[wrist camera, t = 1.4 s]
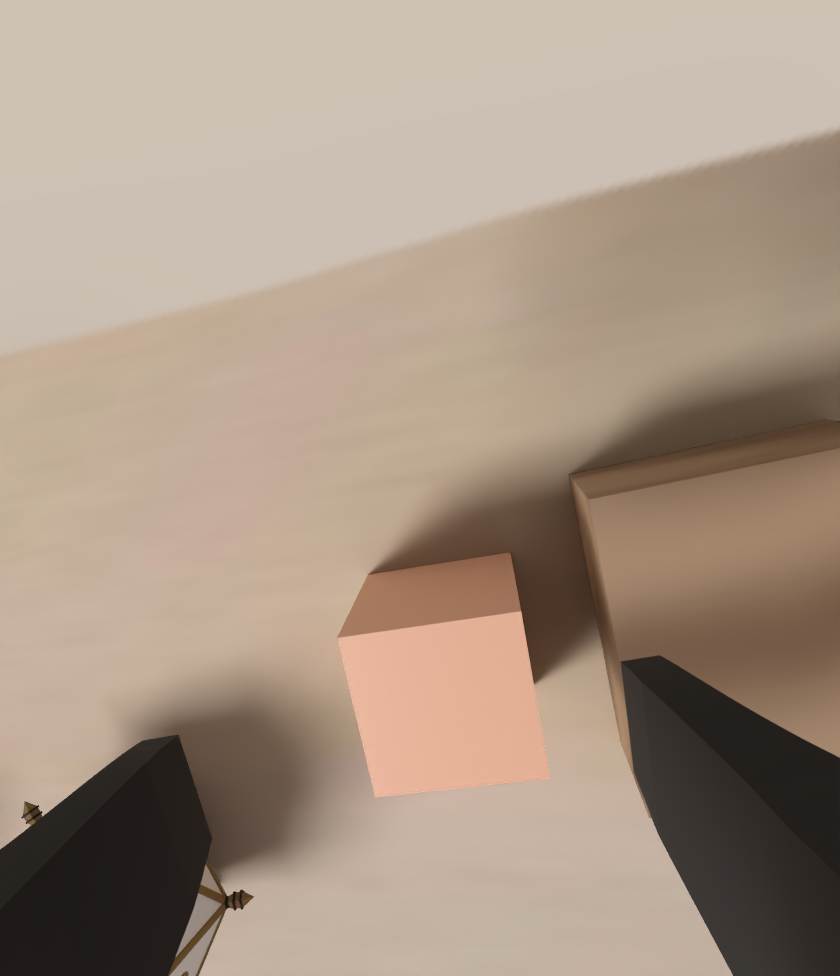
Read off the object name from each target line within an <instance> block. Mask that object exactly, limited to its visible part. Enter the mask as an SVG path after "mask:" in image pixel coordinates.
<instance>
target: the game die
mask: <svg viewBox="0 0 840 976" xmlns="http://www.w3.org/2000/svg"><path fill="white" fill-rule="evenodd" d="M38 807H39V805H38V806H35V805H33V804H30V803H28V802H25V803H24V812H23V816H22V817H21V818H25V820H26V821H27V822H26V824H27V823H29V824H30V825H33V824H34V823H35V822H37V821H38V820H39V819H40V818H42V815H41V813H43V812H42V811H41V812H40V810H39V809H38ZM253 897H254V896H252V895H249V894H247V893H245V891H243V890H240V892H233V894H232V895H230V896H227V895H226V893H225V891H224V890H223V888H222V886H221V884H220V882H219V880H218V879H217V877H216V875H215V873H214V871H213V869H212V868H211V866H210V864H209V862H208V860H207V861H206V865H205V869H204V874H203V877H202V881H201V885H200V888H199V892H198V896H197V899H196V903H195V907H194V909H193V912H192V915H191V917H190V920H189V923H188V926H187V928H186V931H185V933H184V936H183V939H182V941H181V944H180V946H179V949H178V952H177V954H176V957H175V960H174V962H173V965H172V967H171V970H170V972H169V975H168V976H199V973H200V971H201V968H202V966H203V964H204V961H205V959H206V956H207V954H208V952H209V949H210V947H211V945H212V942H213V940H214V937H215V935H216V933H217V930H218V928H219V925H220V923H221V921H222V918H223V916H224V913H225V911H226V909H227V908H234V910H236V909H237V908H241V909H243V907H244V906H245V905H246V904H247V903H248V902H249V901H250V900H251V899H252V898H253Z"/></svg>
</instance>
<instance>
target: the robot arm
mask: <svg viewBox="0 0 840 976" xmlns="http://www.w3.org/2000/svg"><path fill="white" fill-rule="evenodd" d="M621 670H622V678H623V686H624V695H625V703H626V711H627V720H628V728H629V737H630V745H631V753H632V762H633V770H634V774H635V776H636V779H637V782H638V784H639V787H640V789H641V792H642V794H643V797H644V800H645V802H646V805H647V807H648V810H649V812H650V815H651V817H652V820H653V822H654V825H655V827H656V829H657V832H658V834H659V836H660V838H661V840H662V842H663V844H664V846H665V848H666V850H667V852H668V854H669V856H670V858H671V860H672V861H673V863H674V865H675V867H676V869H677V871H678V873H679V875H680V877H681V878H682V880H683V882H684V884H685V886H686V888H687V890H688V892H689V894H690V895H691V897H692V899H693V901H694V903H695V905H696V907H697V909H698V910H699V912H700V914H701V916H702V918H703V920H704V922H705V924H706V925H707V927H708V929H709V931H710V933H711V935H712V937H713V939H714V940H715V942H716V944H717V946H718V948H719V950H720V952H721V954H722V955H723V957H724V959H725V961H726V963H727V965H728V967H729V968H730V970H731V972H732V974H733V976H840V758H839V757H837V756H836V755H834V754H832V753H830V752H828V751H826V750H824V749H822V748H820V747H818V746H816V745H814V744H812V743H810V742H808V741H806V740H804V739H802V738H800V737H799V736H797V735H795V734H793V733H791V732H789V731H788V730H786V729H784V728H782V727H780V726H778V725H777V724H775V723H773V722H771V721H769V720H768V719H766V718H764V717H762V716H761V715H759V714H757V713H755V712H754V711H752V710H750V709H748V708H747V707H745V706H743V705H742V704H740V703H738V702H737V701H735V700H733V699H732V698H730V697H728V696H727V695H725V694H723V693H722V692H720V691H718V690H717V689H715V688H713V687H712V686H710V685H708V684H707V683H705V682H704V681H702V680H700V679H699V678H697V677H695V676H694V675H692V674H691V673H689V672H687V671H686V670H684V669H682V668H681V667H679V666H678V665H676V664H674V663H673V662H671V661H669V660H667V659H666V658H664V657H662V656H660V655H657V656H651V657H645V658H639V659H633V660H627V661H621ZM211 840H212V837H211V834H210V831H209V828H208V825H207V822H206V818H205V815H204V812H203V809H202V806H201V803H200V800H199V797H198V794H197V791H196V788H195V785H194V782H193V779H192V775H191V772H190V769H189V766H188V763H187V760H186V757H185V754H184V751H183V748H182V745H181V742H180V739H179V736H178V735H174V736H168V737H162V738H156V739H150V740H144V741H141V742H140V743H138V744H137V745H135V746H134V747H132V748H131V749H129V750H128V751H126V752H125V753H124V754H122V755H121V756H119V757H118V758H117V759H115V760H114V761H113V762H111V763H110V764H109V765H107V766H106V767H105V768H104V769H102V770H101V771H100V772H98V773H97V774H96V775H95V776H93V777H92V778H91V779H90V780H88V781H87V782H86V783H84V784H83V785H82V786H81V787H79V788H78V789H77V790H76V791H74V792H73V793H72V794H71V795H69V796H68V797H67V798H66V799H64V800H63V801H62V802H61V803H59V804H58V805H57V806H55V807H54V808H53V809H52V810H50V811H49V812H48V813H47V814H45V815H44V816H43V817H42V818H40V819H39V820H38V821H37V822H35V823H34V824H33V825H32V826H30V827H29V828H28V829H27V830H25V831H24V832H23V833H21V834H20V835H19V836H18V837H16V838H15V839H14V840H12V841H11V842H10V843H9V844H7V845H6V846H5V847H3V848H2V849H1V850H0V976H168V975H169V972H170V970H171V967H172V965H173V962H174V960H175V957H176V954H177V952H178V949H179V946H180V944H181V941H182V939H183V936H184V933H185V931H186V928H187V926H188V923H189V920H190V917H191V915H192V912H193V909H194V907H195V903H196V899H197V896H198V892H199V888H200V885H201V881H202V877H203V874H204V869H205V865H206V861H207V857H208V853H209V848H210V844H211Z"/></svg>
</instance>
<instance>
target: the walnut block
mask: <svg viewBox="0 0 840 976" xmlns="http://www.w3.org/2000/svg"><path fill="white" fill-rule="evenodd" d="M569 479H570V484H571V489H572V494H573V499H574V504H575V510H576V515H577V520H578V525H579V530H580V535H581V540H582V545H583V551H584V556H585V561H586V566H587V571H588V576H589V581H590V587H591V592H592V597H593V602H594V607H595V612H596V617H597V623H598V628H599V633H600V638H601V643H602V648H603V653H604V658H605V664H606V669H607V674H608V679H609V684H610V689H611V694H612V700H613V705H614V710H615V715H616V720H617V725H618V730H619V736H620V741H621V744H622V747H623V749H624V752H625V755H626V757H627V760H628V763H629V765H630V768H631V771H632V773H633V776H634V779H635V781H636V784H637V786H638V789H639V792H640V794H641V797H642V800H643V802H644V805H645V808H646V810H647V813H648V816H649V818H652V817H651V815H650V812H649V810H648V807H647V805H646V802H645V800H644V797H643V794H642V792H641V789H640V787H639V784H638V782H637V779H636V776H635V774H634V770H633V762H632V753H631V745H630V737H629V728H628V720H627V711H626V703H625V695H624V686H623V678H622V670H621V661H627V660H633V659H639V658H645V657H651V656H657V655H660V656H662V657H664V658H666V659H667V660H669V661H671V662H673V663H674V664H676V665H678V666H679V667H681V668H682V669H684V670H686V671H687V672H689V673H691V674H692V675H694V676H695V677H697V678H699V679H700V680H702V681H704V682H705V683H707V684H708V685H710V686H712V687H713V688H715V689H717V690H718V691H720V692H722V693H723V694H725V695H727V696H728V697H730V698H732V699H733V700H735V701H737V702H738V703H740V704H742V705H743V706H745V707H747V708H748V709H750V710H752V711H754V712H755V713H757V714H759V715H761V716H762V717H764V718H766V719H768V720H769V721H771V722H773V723H775V724H777V725H778V726H780V727H782V728H784V729H786V730H788V731H789V732H791V733H793V734H795V735H797V736H799V737H800V738H802V739H804V740H806V741H808V742H810V743H812V744H814V745H816V746H818V747H820V748H822V749H824V750H826V751H828V752H830V753H832V754H834V755H836V756H837V757H839V758H840V422H837V421H831V420H823V421H818V422H813V423H809V424H804V425H799V426H794V427H790V428H785V429H780V430H776V431H771V432H766V433H761V434H757V435H752V436H747V437H743V438H738V439H733V440H728V441H724V442H719V443H714V444H710V445H705V446H700V447H695V448H691V449H686V450H681V451H677V452H672V453H667V454H662V455H658V456H653V457H648V458H644V459H639V460H634V461H629V462H625V463H620V464H615V465H611V466H606V467H601V468H596V469H592V470H587V471H582V472H578V473H573V474H569Z"/></svg>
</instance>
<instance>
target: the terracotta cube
mask: <svg viewBox="0 0 840 976" xmlns="http://www.w3.org/2000/svg"><path fill="white" fill-rule="evenodd" d="M337 639H338V643H339V648H340V652H341V656H342V660H343V664H344V669H345V673H346V677H347V681H348V685H349V690H350V694H351V698H352V702H353V706H354V711H355V715H356V719H357V723H358V728H359V732H360V736H361V740H362V744H363V749H364V753H365V757H366V761H367V765H368V770H369V774H370V778H371V782H372V786H373V791H374V795H375V797H384V796H393V795H402V794H412V793H421V792H430V791H439V790H448V789H457V788H466V787H475V786H484V785H493V784H502V783H511V782H520V781H529V780H538V779H547V778H550V775H549V769H548V763H547V758H546V752H545V746H544V740H543V734H542V729H541V723H540V717H539V711H538V706H537V700H536V694H535V688H534V682H533V677H532V671H531V665H530V659H529V653H528V648H527V642H526V636H525V630H524V625H523V619H522V613H521V607H520V602H519V597H518V591H517V586H516V580H515V575H514V569H513V564H512V558H511V553H510V552H509V553H502V554H496V555H490V556H483V557H477V558H471V559H464V560H458V561H452V562H445V563H439V564H432V565H426V566H420V567H413V568H407V569H401V570H394V571H388V572H382V573H375V574H369V575H368V576H367V578H366V580H365V582H364V584H363V586H362V588H361V590H360V592H359V594H358V596H357V598H356V600H355V602H354V605H353V607H352V609H351V611H350V613H349V615H348V617H347V619H346V621H345V623H344V625H343V627H342V629H341V631H340V633H339V635H338V637H337Z"/></svg>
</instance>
